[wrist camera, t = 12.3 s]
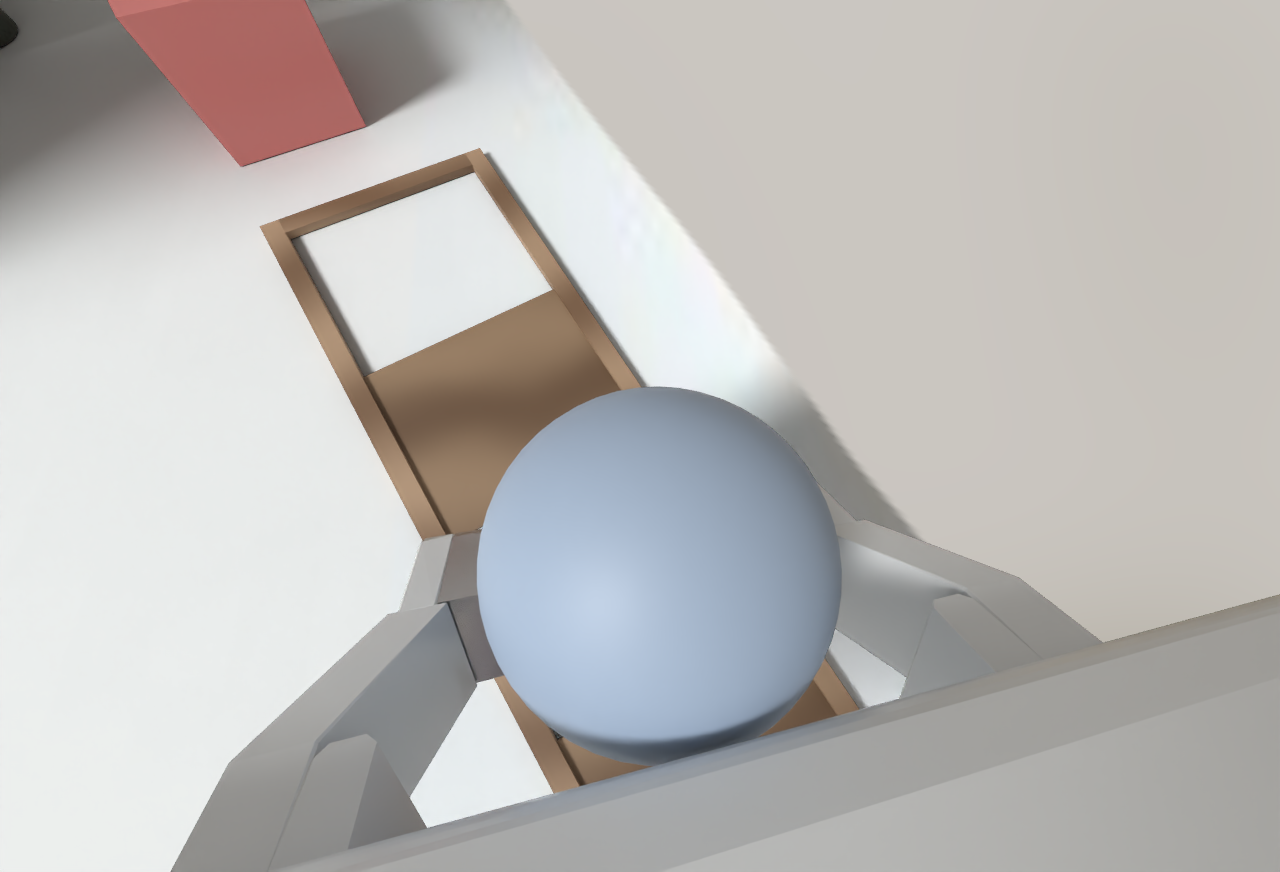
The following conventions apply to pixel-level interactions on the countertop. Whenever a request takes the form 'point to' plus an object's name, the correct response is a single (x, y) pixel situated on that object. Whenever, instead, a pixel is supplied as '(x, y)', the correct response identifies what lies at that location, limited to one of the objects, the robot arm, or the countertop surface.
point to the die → (246, 70)
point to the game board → (486, 414)
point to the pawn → (658, 575)
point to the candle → (6, 29)
